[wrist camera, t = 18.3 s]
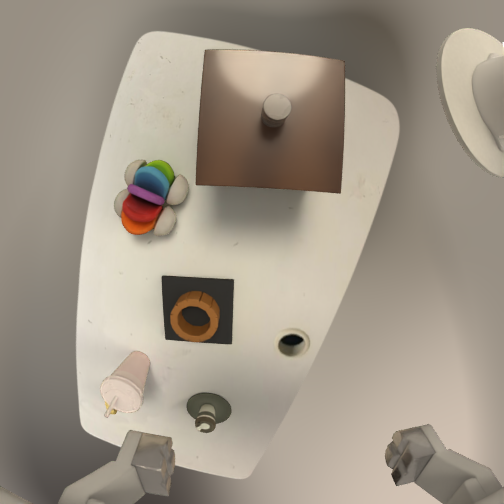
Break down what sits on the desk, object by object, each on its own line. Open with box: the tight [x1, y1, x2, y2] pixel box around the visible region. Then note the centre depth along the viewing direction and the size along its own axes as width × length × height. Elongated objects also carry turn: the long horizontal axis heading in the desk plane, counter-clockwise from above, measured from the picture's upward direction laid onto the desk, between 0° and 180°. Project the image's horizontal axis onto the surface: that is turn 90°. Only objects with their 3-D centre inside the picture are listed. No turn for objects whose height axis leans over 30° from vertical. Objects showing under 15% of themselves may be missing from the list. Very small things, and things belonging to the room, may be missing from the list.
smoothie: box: [100, 351, 150, 418], centre depth 39 cm, size 6×6×14 cm
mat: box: [162, 276, 234, 344], centre depth 43 cm, size 10×10×1 cm
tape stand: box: [196, 49, 345, 194], centre depth 29 cm, size 12×12×18 cm
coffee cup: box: [187, 393, 231, 433], centre depth 45 cm, size 12×12×5 cm
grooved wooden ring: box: [170, 291, 220, 342], centre depth 41 cm, size 6×6×3 cm
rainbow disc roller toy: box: [114, 160, 189, 236], centre depth 36 cm, size 8×10×7 cm
